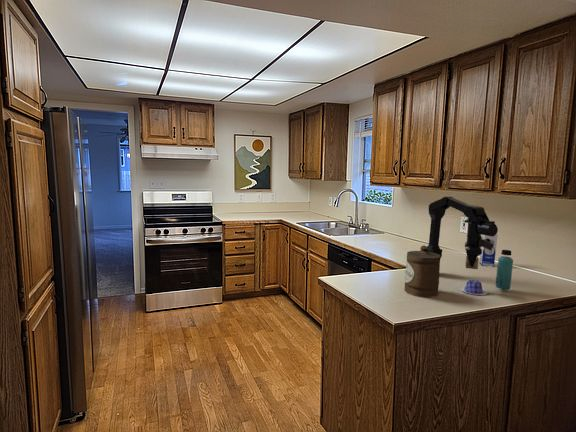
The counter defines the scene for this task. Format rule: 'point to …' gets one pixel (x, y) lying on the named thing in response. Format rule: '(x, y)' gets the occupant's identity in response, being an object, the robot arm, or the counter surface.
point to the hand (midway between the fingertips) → (471, 265)
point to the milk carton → (488, 252)
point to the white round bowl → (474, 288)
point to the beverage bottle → (504, 271)
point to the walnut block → (474, 263)
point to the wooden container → (422, 273)
